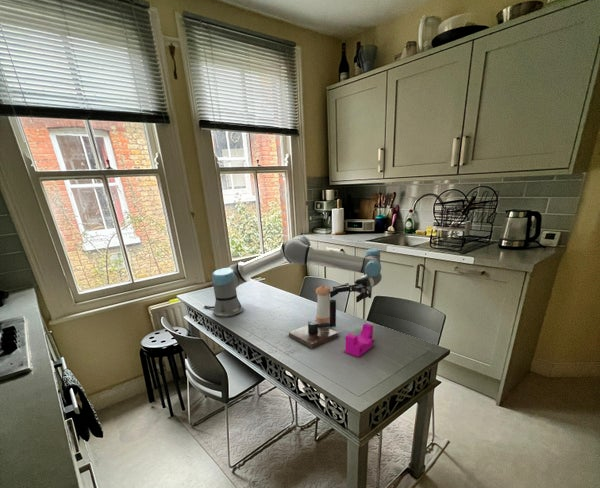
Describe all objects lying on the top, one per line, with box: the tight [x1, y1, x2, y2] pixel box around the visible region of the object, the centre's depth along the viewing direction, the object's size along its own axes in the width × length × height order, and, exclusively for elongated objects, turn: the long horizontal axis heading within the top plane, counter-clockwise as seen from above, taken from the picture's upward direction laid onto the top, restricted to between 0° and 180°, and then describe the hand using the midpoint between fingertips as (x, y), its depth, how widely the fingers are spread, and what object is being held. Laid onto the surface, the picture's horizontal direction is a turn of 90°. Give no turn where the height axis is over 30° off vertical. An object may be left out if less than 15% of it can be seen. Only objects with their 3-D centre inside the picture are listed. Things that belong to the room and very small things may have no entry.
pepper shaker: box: [315, 284, 331, 323], centre depth 154 cm, size 7×7×19 cm
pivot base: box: [288, 324, 339, 349], centre depth 144 cm, size 16×16×2 cm
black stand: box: [307, 299, 337, 334], centre depth 141 cm, size 13×4×15 cm, turn 89°
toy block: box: [344, 322, 374, 357], centre depth 132 cm, size 15×6×8 cm, turn 138°
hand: (343, 297), depth 145 cm, fingers open, 13 cm apart
